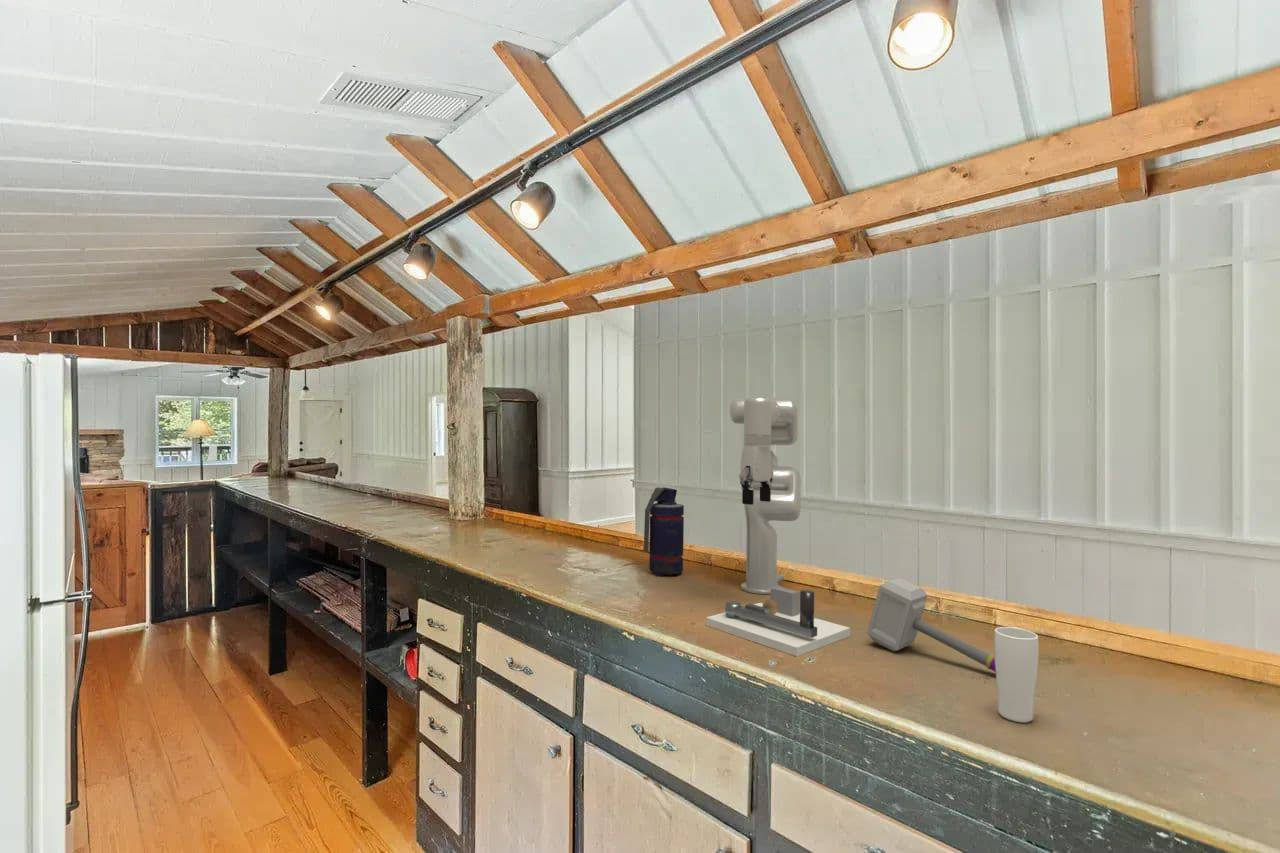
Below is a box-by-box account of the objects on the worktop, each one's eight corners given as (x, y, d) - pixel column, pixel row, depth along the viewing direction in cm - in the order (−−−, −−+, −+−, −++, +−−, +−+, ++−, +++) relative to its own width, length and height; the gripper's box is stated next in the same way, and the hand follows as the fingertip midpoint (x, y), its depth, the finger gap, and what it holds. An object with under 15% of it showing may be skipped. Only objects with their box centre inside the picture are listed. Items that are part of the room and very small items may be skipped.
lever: (722, 614, 160) (722, 574, 160) (735, 610, 164) (735, 571, 164) (809, 640, 141) (809, 594, 141) (821, 636, 144) (822, 591, 144)
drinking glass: (985, 708, 113) (985, 626, 113) (1020, 707, 113) (1020, 626, 113) (1010, 726, 106) (1011, 639, 106) (1047, 725, 106) (1048, 638, 106)
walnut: (759, 614, 160) (759, 599, 161) (768, 611, 163) (769, 596, 163) (771, 618, 157) (771, 602, 157) (781, 615, 160) (781, 599, 160)
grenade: (675, 568, 224) (676, 486, 224) (688, 576, 212) (689, 489, 212) (639, 570, 219) (640, 486, 220) (650, 578, 208) (651, 490, 208)
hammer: (1034, 638, 126) (897, 574, 148) (1021, 646, 121) (881, 579, 143) (1013, 703, 129) (881, 631, 151) (999, 714, 124) (865, 638, 146)
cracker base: (705, 625, 159) (706, 594, 159) (760, 609, 173) (760, 581, 173) (796, 656, 138) (797, 620, 138) (850, 636, 152) (850, 603, 152)
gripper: (760, 441, 181) (759, 499, 181) (729, 441, 168) (728, 504, 168) (783, 441, 176) (783, 501, 176) (753, 442, 163) (753, 506, 163)
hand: (756, 502), depth 172 cm, fingers open, 9 cm apart
